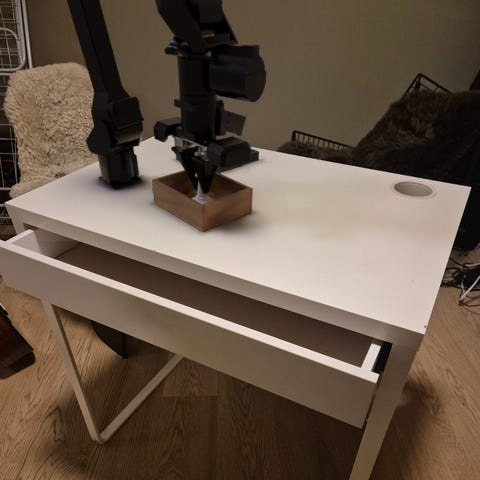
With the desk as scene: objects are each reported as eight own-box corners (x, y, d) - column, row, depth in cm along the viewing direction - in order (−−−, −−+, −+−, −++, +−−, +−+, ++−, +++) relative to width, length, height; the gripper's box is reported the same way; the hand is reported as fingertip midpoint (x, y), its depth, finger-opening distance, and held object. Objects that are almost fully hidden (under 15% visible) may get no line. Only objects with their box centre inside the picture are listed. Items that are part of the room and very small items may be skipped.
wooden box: (202, 231, 68) (201, 206, 65) (154, 203, 76) (151, 179, 73) (251, 212, 74) (252, 188, 71) (202, 187, 82) (201, 165, 79)
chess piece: (184, 202, 75) (180, 145, 69) (208, 197, 77) (207, 141, 71) (195, 213, 72) (192, 154, 66) (220, 208, 74) (220, 150, 67)
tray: (210, 175, 87) (210, 165, 85) (176, 159, 93) (175, 150, 92) (258, 160, 94) (259, 151, 93) (223, 146, 101) (223, 138, 100)
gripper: (279, 96, 62) (271, 196, 72) (201, 76, 72) (204, 165, 82) (222, 107, 56) (223, 214, 66) (146, 84, 66) (157, 179, 76)
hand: (201, 191), depth 73 cm, fingers closed on chess piece
